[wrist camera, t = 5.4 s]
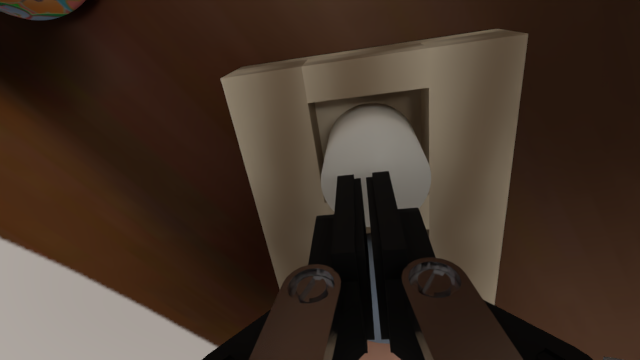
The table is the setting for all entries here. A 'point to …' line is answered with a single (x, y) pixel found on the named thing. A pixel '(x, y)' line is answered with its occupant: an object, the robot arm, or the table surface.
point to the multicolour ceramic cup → (39, 8)
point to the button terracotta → (379, 352)
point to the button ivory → (376, 155)
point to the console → (426, 120)
